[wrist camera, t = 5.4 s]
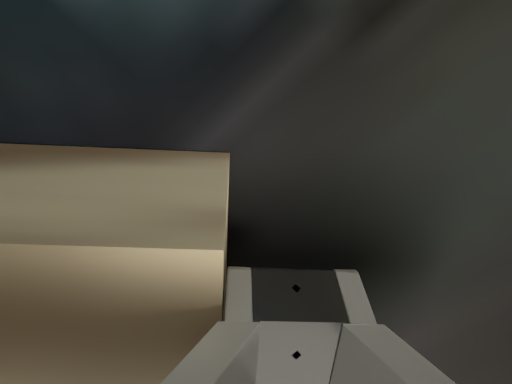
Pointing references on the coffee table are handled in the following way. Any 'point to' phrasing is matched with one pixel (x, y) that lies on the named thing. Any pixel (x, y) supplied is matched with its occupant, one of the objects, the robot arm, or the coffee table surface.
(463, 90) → the coffee table surface
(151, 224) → the rod
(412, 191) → the coffee table surface
